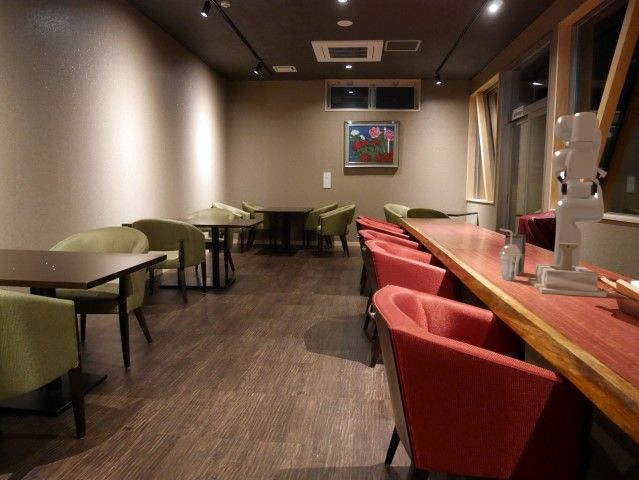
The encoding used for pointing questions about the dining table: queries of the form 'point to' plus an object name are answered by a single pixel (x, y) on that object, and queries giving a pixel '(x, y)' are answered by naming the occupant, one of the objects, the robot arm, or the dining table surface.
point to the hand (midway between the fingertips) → (578, 194)
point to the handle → (566, 255)
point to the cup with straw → (509, 259)
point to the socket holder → (566, 281)
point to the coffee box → (520, 243)
